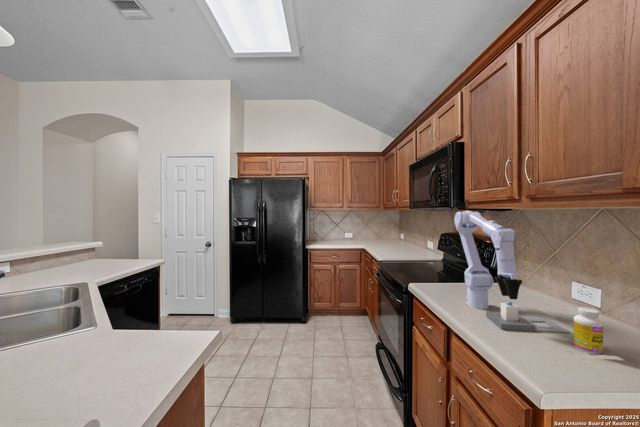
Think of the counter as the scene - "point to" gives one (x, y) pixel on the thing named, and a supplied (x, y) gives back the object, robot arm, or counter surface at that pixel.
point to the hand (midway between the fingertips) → (509, 297)
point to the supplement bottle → (588, 331)
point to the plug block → (509, 311)
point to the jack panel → (525, 324)
